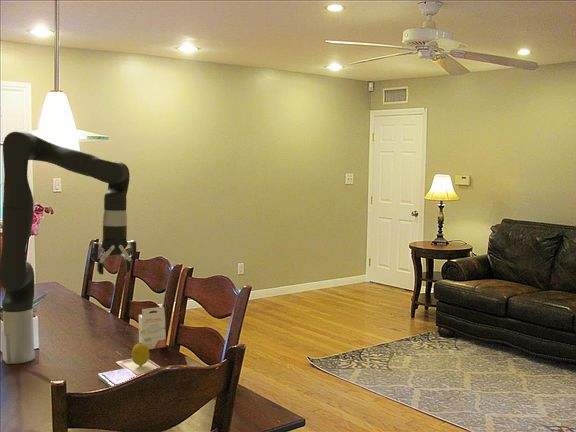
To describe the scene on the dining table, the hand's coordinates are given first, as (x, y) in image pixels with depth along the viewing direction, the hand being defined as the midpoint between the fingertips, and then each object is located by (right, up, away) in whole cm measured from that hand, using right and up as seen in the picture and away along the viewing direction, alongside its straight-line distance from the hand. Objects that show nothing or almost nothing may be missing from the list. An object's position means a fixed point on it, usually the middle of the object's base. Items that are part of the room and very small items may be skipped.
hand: (114, 273), depth 205 cm
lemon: (+9, -30, -2) cm, 32 cm away
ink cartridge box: (+8, -28, +19) cm, 35 cm away
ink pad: (+6, -31, -14) cm, 35 cm away
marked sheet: (+9, -30, -2) cm, 32 cm away
